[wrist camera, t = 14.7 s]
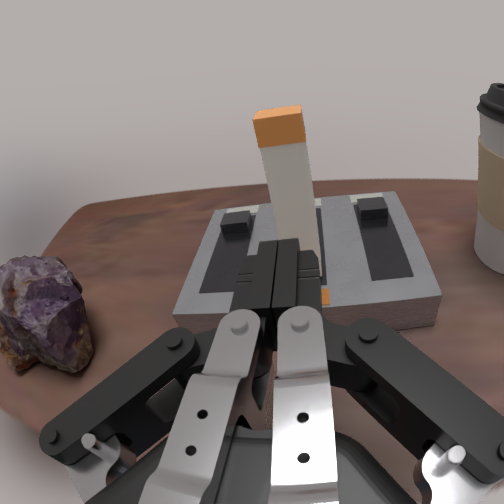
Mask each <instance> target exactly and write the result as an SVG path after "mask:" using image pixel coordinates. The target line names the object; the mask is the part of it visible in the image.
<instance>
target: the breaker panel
mask: <svg viewBox="0 0 504 504" xmlns="http://www.w3.org/2000/svg"><path fill="white" fill-rule="evenodd" d="M314 201H315V209H316V217H317V226H318V234H319V244H320V253H321V267H322V277H320V279H321V293H322V314H323V315H324V317H325V318H326V319H328V320H329V321H331V322H332V323H335V324H338V325H343V326H348V327H349V325H350V324H352V323H353V322H354V321H356V320H358V319H362V318H375V319H378V320H381V321H382V322H384V323H385V324H387V325H388V326H389V327H390V328H392V329H393V330H402V329H410V328H417V327H425V326H432V325H434V323H435V319H436V316H437V312H438V309H439V305H440V301H441V298H442V293H441V291H440V288H439V286H438V283H437V281H436V278H435V276H434V273H433V271H432V268H431V266H430V264H429V261H428V259H427V257H426V255H425V252H424V250H423V248H422V246H421V243H420V241H419V239H418V237H417V235H416V233H415V230H414V228H413V226H412V224H411V222H410V220H409V218H408V216H407V214H406V212H405V210H404V208H403V206H402V204H401V202H400V200H399V198H398V197H397V195H396V193H395V191H391V192H378V193H366V194H354V195H343V196H333V197H323V198H314ZM270 240H279V237H278V232H277V227H276V222H275V217H274V212H273V207H272V203H268V204H259V205H251V206H243V207H235V208H228V209H220V210H215V212H214V214H213V216H212V219H211V221H210V223H209V226H208V228H207V230H206V233H205V235H204V237H203V240H202V242H201V244H200V247H199V249H198V252H197V254H196V256H195V259H194V261H193V264H192V266H191V269H190V271H189V273H188V276H187V278H186V281H185V283H184V286H183V288H182V291H181V293H180V296H179V298H178V301H177V303H176V306H175V309H174V311H173V314H172V315H173V317H174V318H175V320H176V322H177V324H178V326H179V327H183V328H187V329H189V330H190V331H191V332H192V333H193V335H195V334H198V333H202V332H205V331H209V330H212V329H214V328H216V327H217V326H219V323H220V321H221V320H222V318H223V317H224V316H226V315H227V314H228V313H229V310H230V306H231V302H232V298H233V293H234V289H235V285H236V281H237V277H238V272H239V268H240V264H241V263H242V262H243V261H244V259H245V258H246V257H247V256H248V255H257V251H258V246H259V242H260V241H270Z"/></svg>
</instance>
